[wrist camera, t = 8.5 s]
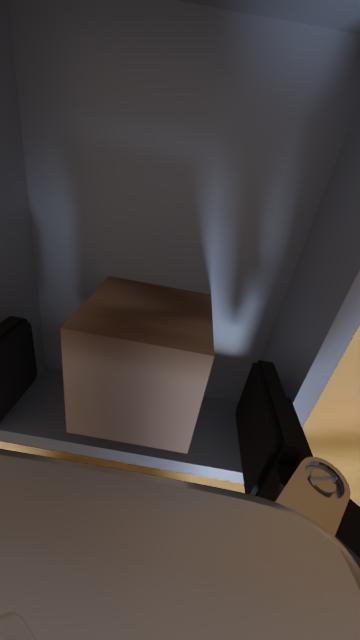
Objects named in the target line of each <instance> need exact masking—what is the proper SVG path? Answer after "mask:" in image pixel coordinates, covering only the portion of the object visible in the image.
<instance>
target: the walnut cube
mask: <svg viewBox="0 0 360 640" xmlns="http://www.w3.org/2000/svg"><path fill="white" fill-rule="evenodd" d="M60 332H61V349H62V365H63V382H64V399H65V415H66V432H68V433H74V434H80V435H85V436H91V437H96V438H102V439H107V440H113V441H119V442H124V443H130V444H135V445H141V446H146V447H152V448H158V449H163V450H169V451H174V452H180V453H185V454H187V453H188V450H189V446H190V442H191V439H192V435H193V432H194V428H195V425H196V421H197V417H198V414H199V410H200V407H201V403H202V399H203V396H204V392H205V389H206V385H207V382H208V378H209V374H210V371H211V367H212V364H213V360H214V357H215V354H214V336H213V317H212V298H211V295H210V294H204V293H199V292H193V291H188V290H182V289H177V288H172V287H166V286H161V285H155V284H150V283H144V282H139V281H134V280H128V279H123V278H117V277H112V276H108V278H107V279H106V280H105V281H104V282H103V283H102V284H101V285H100V286H99V287H98V288H97V289H96V290H95V291H94V292H93V294H92V295H91V296H90V297H89V298H88V299H87V300H86V301H85V302H84V303H83V304H82V305H81V306H80V307H79V309H78V310H77V311H76V312H75V313H74V314H73V315H72V316H71V317H70V318H69V319H68V320H67V321H66V322H65V323H64V325H63V326H62V327H61V328H60Z"/></svg>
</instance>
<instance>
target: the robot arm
mask: <svg viewBox="0 0 360 640" xmlns="http://www.w3.org/2000/svg"><path fill="white" fill-rule="evenodd" d="M36 377H37V366H36V358H35V350H34V342H33V334H32V326H31V324H30V323H29V322H28V321H27V319H25V318H21V317H15V316H9V317H7V318H6V319H5V320H3V321H2V322H1V323H0V423H1V422H2V420H3V419H4V418H5V417H6V415H7V414H8V413H9V412H10V411H11V409H12V408H13V407H14V406H15V404H16V403H17V402H18V401H19V400H20V398H21V397H22V396H23V395H24V393H25V392H26V391H27V390H28V389H29V387H30V386H31V385H32V384H33V383H34V381H35V380H36ZM236 424H237V432H238V440H239V448H240V456H241V464H242V472H243V480H244V487H245V493H241V492H236V491H231V490H226V489H221V488H216V487H211V486H206V485H201V484H196V483H191V482H186V481H180V480H175V479H169V478H164V477H158V476H152V475H147V474H141V473H136V472H130V471H125V470H119V469H114V468H108V467H102V466H97V465H91V464H85V463H80V462H74V461H68V460H62V459H57V458H51V457H45V456H40V455H34V454H28V453H22V452H16V451H10V450H4V449H0V640H360V507H359V506H358V505H357V504H356V503H354V502H353V501H352V500H351V499H350V488H349V484H348V483H347V481H346V479H345V477H344V476H343V475H342V473H341V472H340V471H339V470H338V469H337V468H336V467H335V466H333V465H332V464H331V463H329V462H327V461H326V460H323V459H321V458H318V457H313V455H312V453H311V450H310V447H309V445H308V442H307V440H306V437H305V434H304V432H303V429H302V427H301V424H300V421H299V419H298V416H297V413H296V411H295V408H294V406H293V403H292V401H291V399H290V398H289V397H286V396H285V393H284V390H283V387H282V385H281V382H280V379H279V376H278V374H277V371H276V368H275V365H274V363H273V362H267V361H262V360H259V361H258V362H257V363H253V364H252V367H251V369H250V372H249V375H248V378H247V380H246V383H245V386H244V389H243V391H242V394H241V397H240V400H239V402H238V405H237V408H236Z"/></svg>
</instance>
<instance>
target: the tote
mask: <svg viewBox="0 0 360 640" xmlns="http://www.w3.org/2000/svg"><path fill="white" fill-rule="evenodd" d="M108 276H112V277H117V278H123V279H128V280H134V281H139V282H144V283H150V284H155V285H161V286H166V287H172V288H177V289H182V290H188V291H193V292H199V293H204V294H210V295H211V298H212V317H213V336H214V354H215V357H214V360H213V364H212V367H211V371H210V374H209V378H208V382H207V385H206V389H205V392H204V396H203V399H202V403H201V407H200V410H199V414H198V417H197V421H196V425H195V428H194V432H193V435H192V439H191V442H190V446H189V450H188V453H187V454H185V453H180V452H174V451H169V450H163V449H158V448H152V447H146V446H141V445H135V444H130V443H124V442H119V441H113V440H107V439H102V438H96V437H91V436H85V435H80V434H74V433H68V432H66V415H65V399H64V382H63V365H62V349H61V332H60V328H61V327H62V326H63V325H64V323H65V322H66V321H67V320H68V319H69V318H70V317H71V316H72V315H73V314H74V313H75V312H76V311H77V310H78V309H79V307H80V306H81V305H82V304H83V303H84V302H85V301H86V300H87V299H88V298H89V297H90V296H91V295H92V294H93V292H94V291H95V290H96V289H97V288H98V287H99V286H100V285H101V284H102V283H103V282H104V281H105V280H106V279H107V278H108ZM9 316H15V317H21V318H25V319H27V321H28V322H29V323H30V324H31V326H32V334H33V342H34V350H35V358H36V366H37V377H36V380H35V381H34V383H33V384H32V385H31V386H30V387H29V389H28V390H27V391H26V392H25V393H24V395H23V396H22V397H21V398H20V400H19V401H18V402H17V403H16V404H15V406H14V407H13V408H12V409H11V411H10V412H9V413H8V414H7V415H6V417H5V418H4V419H3V420H2V422H1V423H0V441H2V442H8V443H14V444H19V445H25V446H31V447H36V448H42V449H48V450H53V451H59V452H65V453H71V454H76V455H82V456H88V457H93V458H99V459H105V460H110V461H116V462H122V463H127V464H133V465H139V466H144V467H150V468H156V469H161V470H167V471H173V472H178V473H184V474H190V475H195V476H201V477H207V478H213V479H218V480H224V481H230V482H235V483H241V484H244V480H243V472H242V464H241V456H240V448H239V440H238V432H237V424H236V408H237V405H238V402H239V400H240V397H241V394H242V391H243V389H244V386H245V383H246V380H247V378H248V375H249V372H250V369H251V367H252V364H253V363H257V362H258V361H259V360H262V361H267V362H273V363H274V365H275V368H276V371H277V374H278V376H279V379H280V382H281V385H282V387H283V390H284V393H285V396H286V397H289V398H290V399H291V401H292V403H293V406H294V408H295V411H296V413H297V416H298V419H299V421H300V424H301V427H302V428H303V426H304V424H305V422H306V420H307V419H308V417H309V415H310V413H311V411H312V410H313V408H314V406H315V404H316V402H317V401H318V399H319V397H320V395H321V393H322V392H323V390H324V388H325V386H326V384H327V383H328V381H329V379H330V377H331V375H332V374H333V372H334V370H335V368H336V367H337V365H338V363H339V361H340V359H341V358H342V356H343V354H344V352H345V350H346V349H347V347H348V345H349V343H350V341H351V340H352V338H353V336H354V334H355V332H356V331H357V329H358V327H359V325H360V0H0V323H1V322H2V321H3V320H5V319H6V318H7V317H9Z"/></svg>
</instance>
